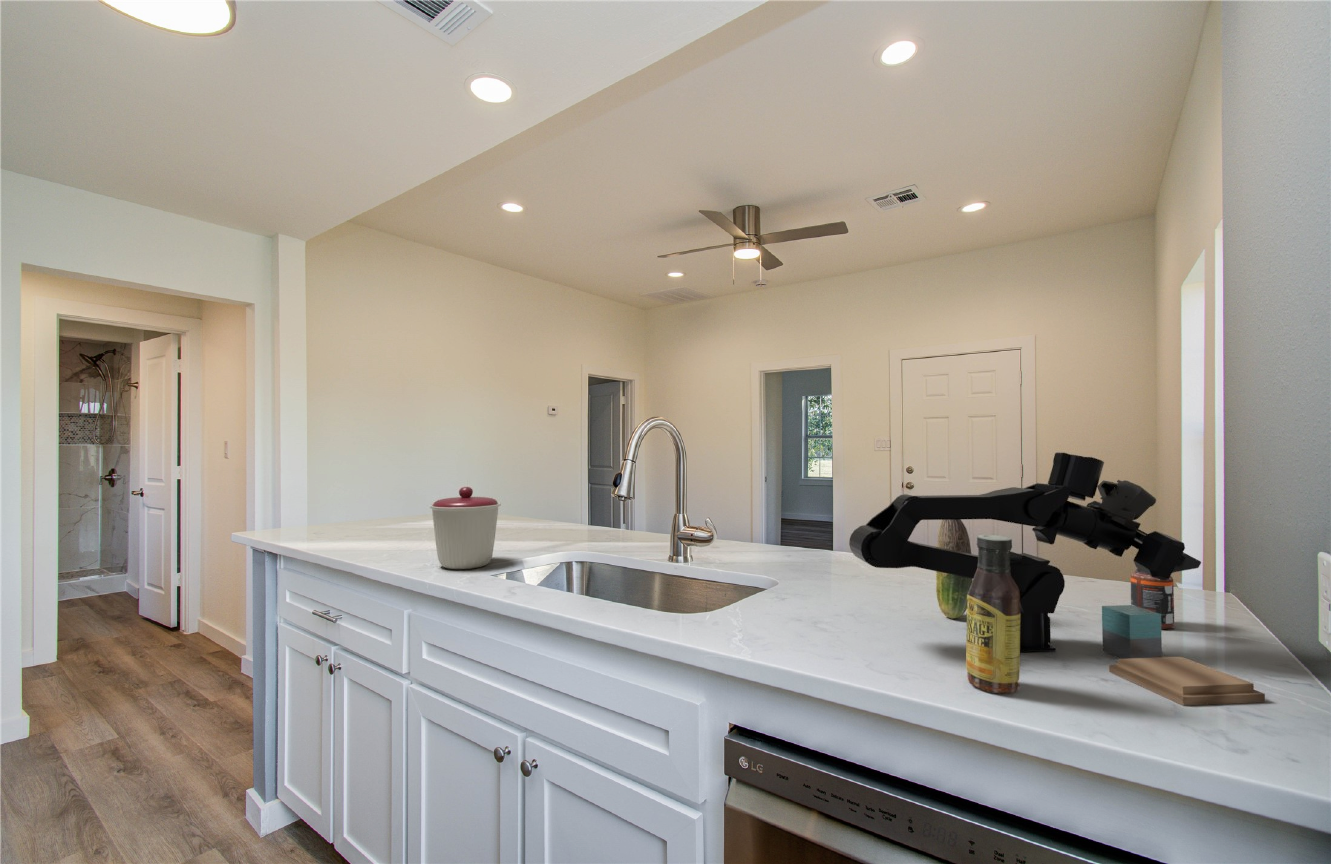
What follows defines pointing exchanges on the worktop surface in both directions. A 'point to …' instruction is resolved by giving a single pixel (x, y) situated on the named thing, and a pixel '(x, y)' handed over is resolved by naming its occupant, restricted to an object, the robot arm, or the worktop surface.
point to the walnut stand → (1186, 681)
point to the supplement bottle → (1153, 596)
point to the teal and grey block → (1131, 632)
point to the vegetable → (948, 585)
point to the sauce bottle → (993, 619)
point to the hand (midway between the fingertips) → (1176, 552)
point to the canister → (465, 530)
